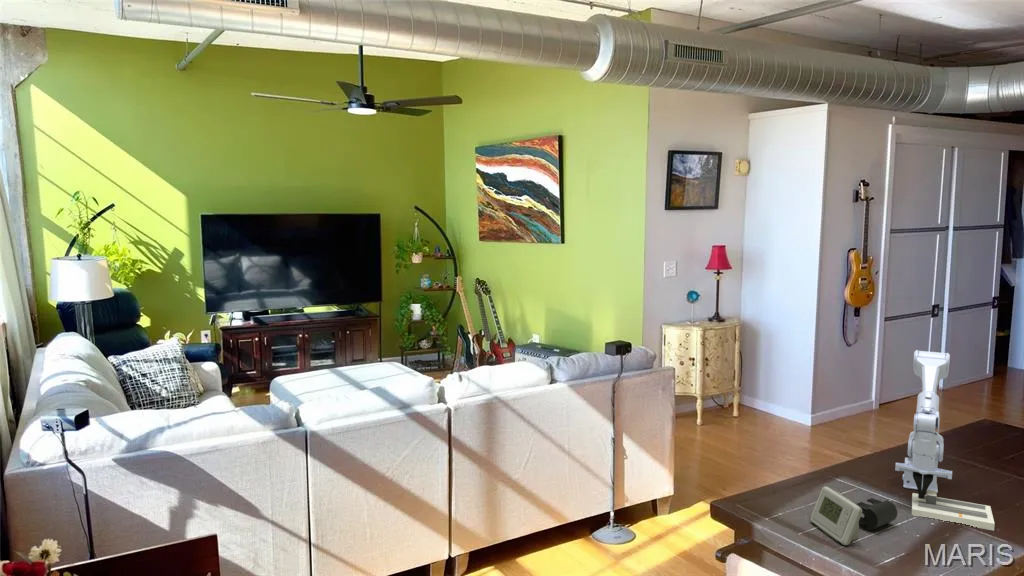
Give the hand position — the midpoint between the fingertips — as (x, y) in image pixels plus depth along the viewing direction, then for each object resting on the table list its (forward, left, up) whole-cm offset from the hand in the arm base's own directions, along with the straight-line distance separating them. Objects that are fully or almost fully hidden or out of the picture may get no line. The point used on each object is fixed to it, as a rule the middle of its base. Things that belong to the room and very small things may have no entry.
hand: (921, 497), depth 214 cm
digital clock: (-21, -31, -4) cm, 37 cm away
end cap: (-11, -20, -4) cm, 23 cm away
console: (+8, 0, -3) cm, 8 cm away
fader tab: (+3, 0, -1) cm, 3 cm away
